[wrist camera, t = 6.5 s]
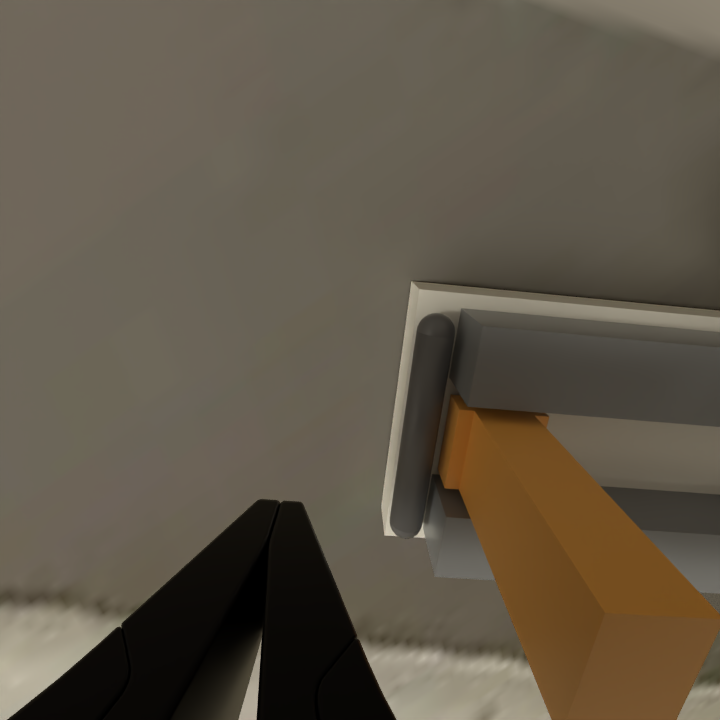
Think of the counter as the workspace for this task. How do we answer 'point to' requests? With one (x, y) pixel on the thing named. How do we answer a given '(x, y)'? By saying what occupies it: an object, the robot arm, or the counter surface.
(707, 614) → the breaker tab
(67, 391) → the counter surface
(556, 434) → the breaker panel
